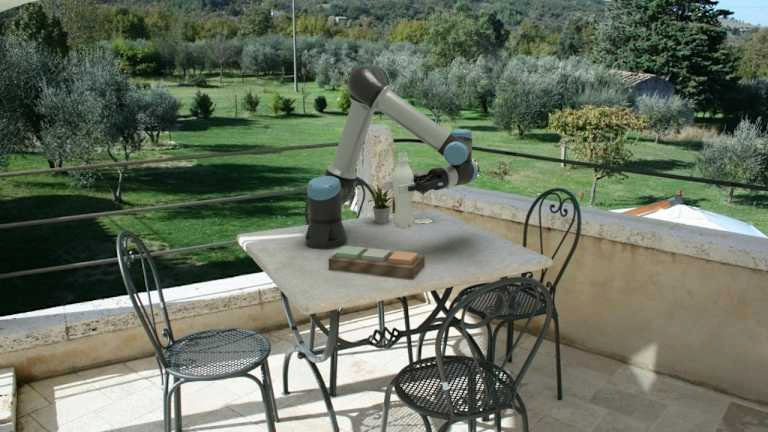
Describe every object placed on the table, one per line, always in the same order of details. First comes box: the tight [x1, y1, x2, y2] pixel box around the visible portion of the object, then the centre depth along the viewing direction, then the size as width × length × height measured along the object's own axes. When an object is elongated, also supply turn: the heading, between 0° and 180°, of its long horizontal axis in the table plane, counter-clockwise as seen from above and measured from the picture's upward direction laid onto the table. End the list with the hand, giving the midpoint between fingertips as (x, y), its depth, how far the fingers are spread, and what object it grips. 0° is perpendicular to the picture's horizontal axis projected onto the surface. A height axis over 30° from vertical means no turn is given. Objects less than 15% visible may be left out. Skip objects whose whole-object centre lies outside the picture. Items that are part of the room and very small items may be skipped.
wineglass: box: [412, 169, 433, 224], centre depth 246 cm, size 8×9×20 cm
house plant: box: [366, 183, 394, 224], centre depth 247 cm, size 14×14×16 cm
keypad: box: [327, 249, 426, 280], centre depth 196 cm, size 28×12×4 cm, turn 69°
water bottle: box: [391, 151, 415, 230], centre depth 202 cm, size 7×7×25 cm
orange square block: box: [389, 250, 419, 265], centre depth 192 cm, size 7×7×3 cm
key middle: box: [362, 248, 392, 262], centre depth 195 cm, size 7×7×3 cm
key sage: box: [335, 245, 366, 260], centre depth 199 cm, size 7×7×3 cm
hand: (391, 188), depth 198 cm, fingers closed on water bottle, 7 cm apart
